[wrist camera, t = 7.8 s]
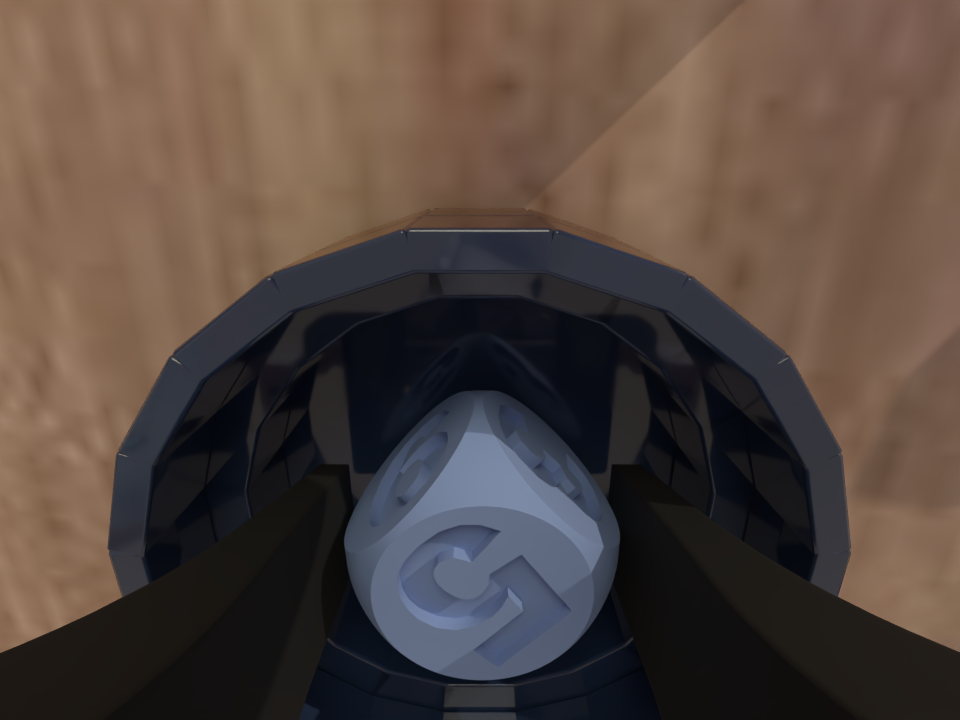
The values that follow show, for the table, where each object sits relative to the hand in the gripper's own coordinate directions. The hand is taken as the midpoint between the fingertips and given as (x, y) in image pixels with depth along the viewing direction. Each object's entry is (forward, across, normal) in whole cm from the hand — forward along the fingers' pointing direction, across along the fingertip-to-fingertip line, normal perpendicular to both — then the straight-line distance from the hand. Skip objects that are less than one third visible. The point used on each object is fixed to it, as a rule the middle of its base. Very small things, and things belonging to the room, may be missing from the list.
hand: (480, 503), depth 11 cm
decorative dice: (+2, 0, 0) cm, 2 cm away
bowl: (+2, 0, 0) cm, 2 cm away
